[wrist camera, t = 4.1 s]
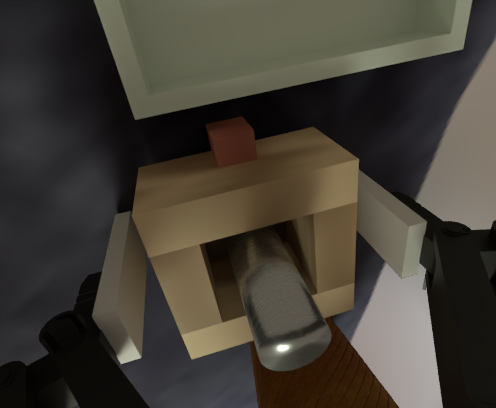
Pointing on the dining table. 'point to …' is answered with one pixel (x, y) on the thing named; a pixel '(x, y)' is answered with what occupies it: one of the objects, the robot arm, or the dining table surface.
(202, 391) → the dining table surface
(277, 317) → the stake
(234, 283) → the wooden square frame
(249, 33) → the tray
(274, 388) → the disposable coffee cup
